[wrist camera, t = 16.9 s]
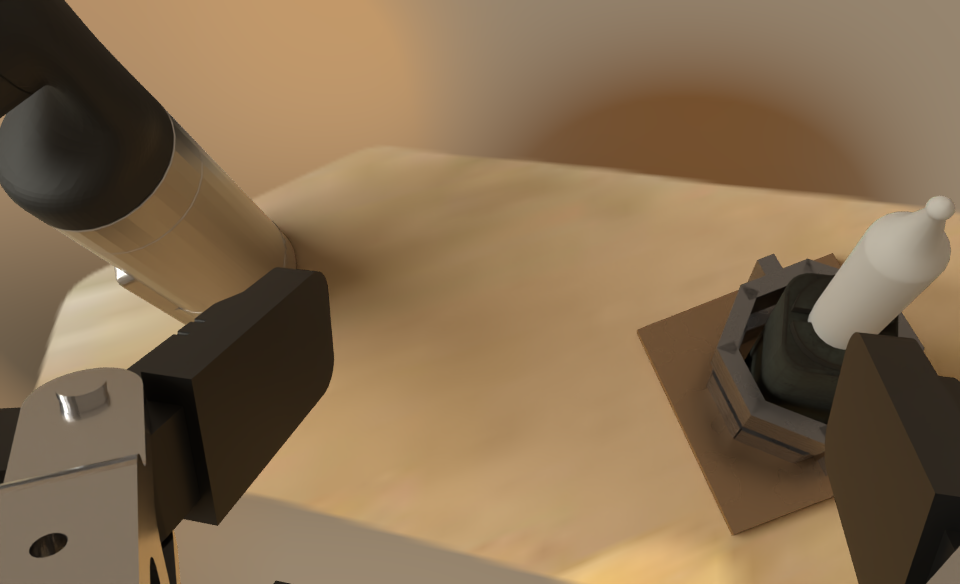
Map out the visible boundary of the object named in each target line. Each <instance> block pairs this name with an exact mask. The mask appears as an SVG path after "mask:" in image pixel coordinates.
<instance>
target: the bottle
mask: <svg viewBox="0 0 960 584" xmlns="http://www.w3.org/2000/svg"><path fill="white" fill-rule="evenodd" d="M954 212H955V204H954V202H953V201H952V200H951V199H950V198H948V197H946V196H935V197H933V198H931V199H930V200H929V201H928V202H927V204H926V207H925V208H923V209H921V210H918V211H916V212H894V213H890V214H887V215H885V216H883V217H881V218H879V219H877V220H876V221H875V222H874V223H873V224H872V225H871V226H869V228H868V229H867V231H866V232H865V233H864V235H863V236H862V238H861V239H860V241H859V242H858V243H857V245H856V246H855V248H854V249H853V251H852V252H851V253H850V255H849V256H848V258H847V259H846V260H845V262H844V263H843V265H842V266H841V268H840V269H839V270H838V272H837V273H836V275H826V274H817V273H804V274H800V275H798V276H796V277H794V278H793V279H792V280H791V281H790V282H789V283H788V285H787V286H786V288H785V290H784V292H783V294H782V295H781V297H780V299H779V301H778V302H777V304H776V306H775V308H774V309H773V311H772V313H771V315H770V316H769V318H768V320H767V322H766V324H765V325H764V327H763V329H762V331H761V332H760V334H759V336H758V338H757V339H756V341H755V343H754V345H753V347H752V348H751V350H750V352H749V354H748V355H747V357H746V360H745V363H746V365H747V367H748V369H749V371H750V373H751V375H752V376H753V378H754V380H755V382H756V384H757V386H758V388H759V390H760V392H761V394H762V395H763V397H764V399H765V401H767V402H769V403H772V404H775V405H777V406H780V407H782V408H785V409H788V410H790V411H793V412H795V413H798V414H800V415H803V416H806V417H808V418H811V419H813V420H816V421H819V422H821V423H824V424H826V425H827V424H828V420H829V416H830V412H831V408H832V403H833V399H834V395H835V391H836V387H837V383H838V379H839V375H840V371H841V367H842V363H843V359H844V355H845V351H846V347H847V344H848V342H849V339H850V337H851V336H852V335H853V334H854V333H855V332H860V333H869V334H878V335H887V336H896V337H898V318H899V314H900V313H901V312H902V311H903V310H904V309H905V308H906V307H907V306H908V305H909V304H910V303H911V302H912V301H913V300H914V299H915V298H916V297H917V296H918V295H919V294H920V293H921V292H923V291H924V290H925V289H926V288H927V287H928V286H929V285H930V284H931V283H932V282H933V281H934V280H935V279H936V278H937V277H938V276H939V275H940V274H941V273H942V272H943V271H944V270H945V268H946V266H947V264H948V262H949V260H950V254H951V247H950V242H949V239H948V237H947V235H946V233H945V232H944V228H945V222H946V220H947V219H949V218H950V217H951V216H952V215H953V214H954Z"/></svg>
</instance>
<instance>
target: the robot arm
mask: <svg viewBox="0 0 960 584" xmlns="http://www.w3.org/2000/svg"><path fill="white" fill-rule="evenodd" d="M5 114H6V116H5V118H4V120H3V122H2V125H1V127H0V184H1V186H2V187H3V189H4V190H5V192H6V193H7V194H8V195H9V197H10V198H11V199H12V200H13V201H14V202H15V203H16V204H18V205H19V206H20V207H22V208H23V209H24V210H25V211H27V212H29V213H30V214H32V215H34V216H35V217H37V218H38V219H40V220H41V221H43V222H44V223H46V224H48V225H50V226H51V227H53V228H54V229H56V230H58V231H59V232H61V233H62V234H64V235H65V236H67V237H69V238H70V239H72V240H73V241H75V242H76V243H78V244H80V245H81V246H83V247H84V248H86V249H88V250H90V251H91V252H93V253H94V254H96V255H97V256H99V257H100V258H102V259H104V260H105V261H107V262H108V263H110V264H111V265H113V266H114V268H115V275H116V280H117V282H118V283H119V285H121V286H122V287H124V288H125V289H127V290H129V291H130V292H132V293H134V294H135V295H137V296H139V297H140V298H142V299H144V300H145V301H147V302H149V303H150V304H152V305H154V306H155V307H157V308H159V309H160V310H162V311H163V312H165V313H167V314H168V315H170V316H172V317H173V318H175V319H177V320H178V321H180V322H182V323H183V324H185V326H184V327H183V328H181V329H180V330H179V331H178V334H177V335H175V334H173V335H172V336H171V337H169V338H168V339H167V340H165V341H164V342H163V343H161V344H160V345H159V346H157V347H156V348H155V349H153V350H152V351H151V352H149V353H148V354H147V355H145V356H144V357H143V358H141V359H140V360H139V361H137V362H136V363H135V364H133V365H132V366H131V367H129V368H128V369H127V370H125V369H120V368H94V369H87V370H82V371H77V372H73V373H70V374H66V375H64V376H61V377H58V378H56V379H54V380H51V381H49V382H47V383H45V384H44V385H42V386H40V387H39V388H37V389H36V390H34V391H33V392H32V393H31V394H30V395H29V396H28V397H27V398H26V399H25V400H24V402H23V404H22V406H21V408H3V409H0V584H181V582H180V568H179V557H178V546H177V542H176V537H175V532H174V529H175V528H176V526H177V525H178V524H179V523H180V522H181V520H183V519H186V520H192V521H197V522H202V523H207V524H212V525H217V526H218V525H219V523H220V522H221V521H222V520H223V519H224V517H225V516H226V515H227V514H228V512H229V511H230V510H231V509H232V507H233V506H234V505H235V504H236V502H237V501H238V500H239V499H240V498H241V496H242V495H243V494H244V493H245V491H246V490H247V489H248V488H249V486H250V485H251V484H252V483H253V481H254V480H255V479H256V478H257V476H258V475H259V474H260V473H261V472H262V470H263V469H264V468H265V467H266V465H267V464H268V463H269V462H270V460H271V459H272V458H273V457H274V455H275V454H276V453H277V452H278V450H279V449H280V448H281V447H282V446H283V444H284V443H285V442H286V441H287V439H288V438H289V437H290V436H291V434H292V433H293V432H294V431H295V429H296V428H297V427H298V426H299V424H300V423H301V422H302V421H303V419H304V418H305V417H306V416H307V415H308V413H309V412H310V411H311V410H312V408H313V407H314V406H315V405H316V403H317V402H318V401H319V400H320V398H321V397H322V396H323V395H324V393H325V392H326V390H327V388H328V386H329V383H330V380H331V377H332V372H333V365H334V352H333V341H332V329H331V317H330V306H329V294H328V285H327V281H326V278H325V277H324V275H323V274H322V273H321V272H318V271H309V270H300V269H296V258H295V252H294V250H293V247H292V245H291V243H290V241H289V240H288V239H287V237H286V236H285V235H284V234H283V233H282V231H281V230H280V229H279V228H278V227H277V225H276V224H275V223H274V222H273V221H271V220H270V219H269V218H268V217H267V216H266V215H265V214H264V212H263V211H262V210H261V209H260V208H259V207H258V206H257V205H256V204H255V203H254V202H253V201H252V200H251V199H250V198H249V197H248V196H247V195H246V193H244V192H243V190H242V189H241V188H240V187H239V186H238V185H237V184H236V183H235V182H234V181H233V180H232V179H231V178H230V177H229V176H228V175H227V174H226V173H225V172H224V170H223V169H222V168H221V167H220V166H219V165H218V164H217V163H216V162H215V161H214V160H213V159H212V158H211V157H210V156H209V155H208V154H207V153H206V152H205V151H204V150H203V149H202V147H201V146H200V145H199V144H198V143H197V142H196V141H195V140H194V139H193V138H192V137H191V136H190V135H189V134H188V133H187V132H186V131H185V130H184V129H183V128H182V127H181V126H180V125H179V124H178V122H176V120H175V119H174V118H173V117H172V116H171V115H170V114H169V113H168V112H167V111H166V110H165V109H164V108H163V106H162V105H161V104H160V103H159V102H158V101H157V100H156V99H155V98H154V97H153V96H152V95H151V94H150V93H149V92H148V91H147V90H146V89H145V88H144V87H143V86H142V85H141V84H140V83H139V82H138V81H137V80H136V79H135V78H134V77H133V76H132V75H131V74H130V73H129V72H128V71H127V70H126V69H125V68H124V67H123V66H122V64H121V63H120V62H119V61H117V59H116V58H115V57H114V56H113V55H112V54H111V53H110V52H109V51H108V50H107V49H106V48H105V47H104V45H103V44H102V43H101V42H100V41H99V40H98V39H97V38H96V37H95V36H94V34H93V33H92V32H91V31H90V30H89V29H88V27H87V26H86V25H85V24H84V23H83V22H82V20H81V19H80V18H79V17H78V16H77V15H76V13H75V12H74V11H73V10H72V9H71V7H70V6H69V5H68V4H67V3H66V2H65V0H0V118H1V117H2V116H4V115H5ZM825 465H826V470H827V474H828V477H829V481H830V484H831V488H832V491H833V495H834V498H835V502H836V505H837V509H838V512H839V516H840V519H841V523H842V527H843V530H844V534H845V537H846V541H847V544H848V548H849V551H850V555H851V558H852V562H853V565H854V569H855V572H856V576H857V579H858V583H859V584H960V382H959V381H958V380H957V379H955V378H950V377H942V376H938V375H937V373H936V371H935V370H934V368H933V366H932V365H931V363H930V362H929V360H928V358H927V357H926V355H925V353H924V352H923V350H922V348H921V347H920V345H919V344H918V342H917V341H916V340H915V339H914V338H905V337H896V336H887V335H878V334H869V333H860V332H855V333H854V334H853V335H852V336H851V337H850V339H849V342H848V344H847V347H846V351H845V355H844V359H843V363H842V367H841V371H840V375H839V379H838V383H837V387H836V391H835V395H834V399H833V403H832V408H831V412H830V416H829V420H828V424H827V429H826V436H825ZM274 584H289V583H284V582H279V581H275V583H274Z"/></svg>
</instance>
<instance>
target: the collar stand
mask: <svg viewBox="0 0 960 584" xmlns="http://www.w3.org/2000/svg"><path fill="white" fill-rule="evenodd" d="M840 268H841V266H840V264H839V263H838V261H837V259H836V258H835V256H834V254H833V253H832V254H829V255H827V256H824V257H822V258H819V259H817V260H814V261H813V260H810V259H806V260H803V261H801V262H798V263H796V264H793V265H791V266H788V267H786V268H782V267H781V265H780V263H779V261H778V260H777V258H776V256H775V255H774V254H772V255H769V256H767V257H764V258H762V259H759V260H757V262H756V265H755V267H754V269H753V271H752V274H751V276H750V278H749V281H748V282H747V283H745V284H742V285H741V286H740V288H739V290H737V291H735V292H732V293H730V294H727V295H725V296H722V297H720V298H717V299H715V300H712V301H709V302H707V303H704V304H702V305H699V306H697V307H694V308H692V309H689V310H687V311H684V312H681V313H679V314H676V315H674V316H671V317H669V318H666V319H664V320H661V321H658V322H656V323H653V324H651V325H648V326H646V327H643V328H641V329H638V330H637V334H638V336H639V339H640V341H641V343H642V345H643V347H644V349H645V351H646V354H647V356H648V358H649V360H650V362H651V364H652V366H653V368H654V371H655V373H656V375H657V377H658V379H659V381H660V383H661V385H662V388H663V390H664V392H665V394H666V396H667V398H668V400H669V402H670V405H671V407H672V409H673V411H674V413H675V415H676V417H677V419H678V422H679V424H680V426H681V428H682V430H683V432H684V434H685V437H686V439H687V441H688V443H689V445H690V447H691V449H692V451H693V454H694V456H695V458H696V460H697V462H698V464H699V466H700V468H701V471H702V473H703V475H704V477H705V479H706V481H707V483H708V485H709V488H710V490H711V492H712V494H713V496H714V498H715V500H716V503H717V505H718V507H719V509H720V511H721V513H722V515H723V517H724V520H725V522H726V524H727V526H728V528H729V530H730V532H731V534H732V535H734V534H736V533H739V532H742V531H744V530H747V529H750V528H752V527H755V526H757V525H760V524H763V523H765V522H768V521H770V520H773V519H776V518H778V517H781V516H783V515H786V514H789V513H791V512H794V511H797V510H799V509H802V508H804V507H807V506H810V505H812V504H815V503H817V502H820V501H823V500H825V499H828V498H831V497H833V496H834V495H833V491H832V488H831V484H830V481H829V477H828V474H827V470H826V465H825V436H826V429H827V425H826V424H824V423H821V422H819V421H816V420H813V419H811V418H808V417H806V416H803V415H800V414H798V413H795V412H793V411H790V410H788V409H785V408H782V407H780V406H777V405H775V404H772V403H769V402H767V401H765V399H764V397H763V395H762V394H761V392H760V390H759V388H758V386H757V384H756V382H755V380H754V378H753V376H752V375H751V373H750V371H749V369H748V367H747V365H746V363H745V360H746V357H747V355H748V354H749V352H750V350H751V348H752V347H753V345H754V343H755V341H756V339H757V338H758V336H759V334H760V332H761V331H762V329H763V327H764V325H765V324H766V322H767V320H768V318H769V316H770V315H771V313H772V311H773V309H774V308H775V306H776V304H777V302H778V301H779V299H780V297H781V295H782V294H783V292H784V290H785V288H786V286H787V285H788V283H789V282H790V281H791V280H792V279H793V278H794V277H796V276H798V275H800V274H804V273H817V274H826V275H836V273H837V272H838V270H839V269H840ZM898 337H905V338H914V339H915V340H916V341H917V342H918V344H919V345H920V347H921V348H922V350H923V351H924V347H923V345H922V343H921V342H920V340H919V339H918V337H917V336H916V334H915V333H914V331H913V329H912V328H911V326H910V325H909V323H908V322H907V320H906V318H905V317H904V315H903V314H902V312H901V313H900V314H899V318H898Z"/></svg>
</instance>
